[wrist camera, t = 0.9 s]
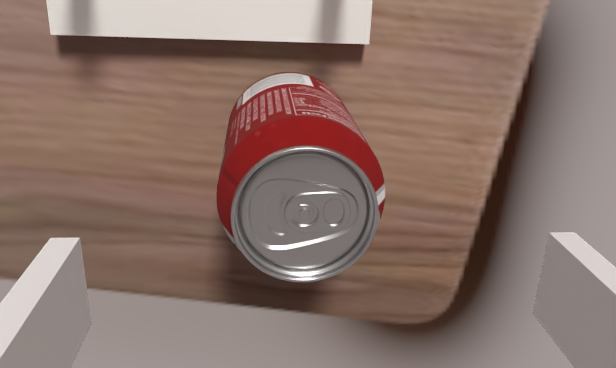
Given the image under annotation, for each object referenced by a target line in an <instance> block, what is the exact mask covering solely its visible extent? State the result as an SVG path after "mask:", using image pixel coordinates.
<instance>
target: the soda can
mask: <svg viewBox="0 0 616 368" xmlns="http://www.w3.org/2000/svg"><path fill="white" fill-rule="evenodd" d="M384 201H385V184H384V178H383V174H382V170H381V167H380V165H379V163H378V160H377V158H376V156H375V155H374V153H373V151H372V150H371V148H370V147H369V145H368V143H367V142H366V140H365V138H364V137H363V135H362V134H361V132H360V130H359V129H358V127H357V125H356V124H355V122H354V120H353V119H352V117H351V116H350V114H349V112H348V111H347V109H346V107H345V106H344V104H343V103H342V101H341V99H340V98H339V96H338V95H337V94H336V93H335V92H334V91H333V89H331V88H330V87H329V86H328V85H327V84H325V83H324V82H322V81H321V80H319V79H317V78H315V77H313V76H310V75H307V74H303V73H297V72H282V73H276V74H272V75H269V76H266V77H264V78H262V79H260V80H258V81H256V82H255V83H253V84H252V85H251V86H249V87H248V88H247V89H246V90H245V91H244V92H243V93H242V94H241V96H240V97H239V98H238V100H237V101H236V103H235V105H234V107H233V109H232V112H231V115H230V118H229V123H228V129H227V135H226V140H225V146H224V151H223V157H222V163H221V168H220V174H219V180H218V185H217V208H218V213H219V217H220V220H221V223H222V226H223V228H224V230H225V232H226V234H227V235H228V237H229V238H230V240H231V241H232V242H233V244H234V245H235V246H236V247H237V248H238V249H239V250H240V251H241V252H242V253H243V255H244V256H245V257H246V258H247V259H248V260H249V262H250V263H252V264H253V265H254V266H255V267H256V268H258V269H259V270H261V271H262V272H264V273H266V274H268V275H270V276H272V277H275V278H278V279H281V280H285V281H290V282H314V281H319V280H323V279H327V278H330V277H332V276H335V275H337V274H339V273H341V272H343V271H344V270H346V269H347V268H349V267H350V266H352V265H353V264H354V263H355V262H356V261H357V260H358V259H359V258H360V257H361V256H362V255H363V254H364V252H365V251H366V250H367V248H368V247H369V245H370V243H371V241H372V239H373V237H374V235H375V232H376V228H377V225H378V223H379V221H380V218H381V215H382V212H383V207H384Z"/></svg>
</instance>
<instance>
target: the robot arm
mask: <svg viewBox="0 0 616 368" xmlns="http://www.w3.org/2000/svg"><path fill="white" fill-rule="evenodd" d="M533 315H534V316H535V317H536V319H537V320H538V321H539V323H540V324H541V325H542V326H543V328H544V329H545V330H546V332H547V333H548V334H549V335H550V337H551V338H552V339H553V340H554V342H555V343H556V344H557V346H558V347H559V348H560V349H561V351H562V352H563V353H564V355H565V356H566V357H567V358H568V360H569V361H570V362H571V364H572V365H573V366H574V367H575V368H616V267H615V266H613V265H612V264H611V263H610V262H609V261H608V260H606V259H605V258H604V257H603V256H602V255H601V254H599V253H598V252H597V251H596V250H595V249H593V248H592V247H591V246H590V245H589V244H588V243H586V242H585V241H584V240H583V239H582V238H581V237H579V236H578V235H577V234H576V233H574V232H570V233H569V232H565V233H564V232H562V233H549V236H548V241H547V246H546V250H545V255H544V260H543V265H542V270H541V275H540V280H539V285H538V290H537V295H536V300H535V305H534V309H533ZM90 326H91V317H90V309H89V302H88V295H87V287H86V279H85V272H84V264H83V257H82V249H81V242H80V238H50V239H49V241H48V242H47V243H46V244H45V246H44V247H43V248H42V250H41V251H40V252H39V254H38V255H37V256H36V257H35V259H34V260H33V261H32V263H31V264H30V265H29V267H28V268H27V269H26V271H25V272H24V273H23V274H22V276H21V277H20V278H19V280H18V281H17V282H16V284H15V285H14V286H13V287H12V289H11V290H10V291H9V293H8V294H7V295H6V297H5V298H4V299H3V300H2V302H1V303H0V368H71V367H72V364H73V362H74V360H75V358H76V356H77V354H78V352H79V349H80V347H81V345H82V343H83V341H84V339H85V337H86V335H87V332H88V330H89V328H90Z"/></svg>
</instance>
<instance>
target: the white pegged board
mask: <svg viewBox="0 0 616 368" xmlns="http://www.w3.org/2000/svg"><path fill="white" fill-rule="evenodd" d="M46 1H47V9H48V17H49V25H50V33H51V35H77V36H110V37H143V38H176V39H210V40H243V41H276V42H309V43H343V44H369V38H370V25H371V12H372V0H46Z"/></svg>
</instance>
